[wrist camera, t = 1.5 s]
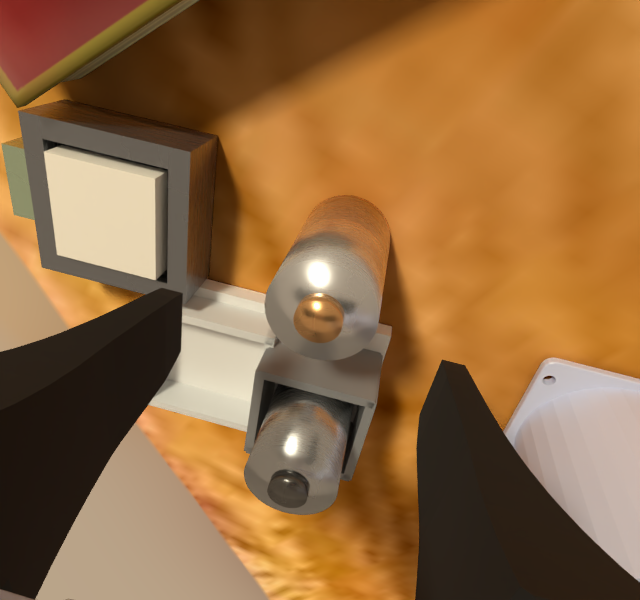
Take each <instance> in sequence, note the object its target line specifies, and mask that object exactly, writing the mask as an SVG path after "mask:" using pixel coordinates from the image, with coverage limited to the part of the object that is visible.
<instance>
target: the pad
mask: <svg viewBox="0 0 640 600" xmlns="http://www.w3.org/2000/svg"><path fill="white" fill-rule="evenodd" d="M44 157H45V165H46V173H47V180H48V188H49V196H50V204H51V211H52V219H53V227H54V234H55V242H56V250H57V255H60V256H63V257H67V258H71V259H75V260H79V261H83V262H87V263H91V264H94V265H98V266H102V267H106V268H110V269H114V270H118V271H122V272H125V273H129V274H133V275H137V276H141V277H145V278H149V279H152V280H156V279H158V278H159V277H160V276H161V275H162V274H163V273H164V272H165V271H166V270H167V212H168V171H166V170H162V169H158V168H154V167H150V166H146V165H142V164H138V163H133V162H129V161H125V160H121V159H117V158H113V157H109V156H105V155H100V154H96V153H92V152H88V151H84V150H80V149H76V148H72V147H67V146H63V145H60V146H58V147H55V148H52V149H50V150H47V151H44Z"/></svg>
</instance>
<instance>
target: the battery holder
mask: <svg viewBox="0 0 640 600" xmlns="http://www.w3.org/2000/svg"><path fill="white" fill-rule="evenodd" d="M265 297H266V294H263V293H260V292H256V291H252V290H248V289H244V288H240V287H236V286H232V285H228V284H224V283H221V282H217V281H213V280H209V279H206V280H205V281H204V283H203V284H202V285H201V286H200V287H199V289H198V290H197V291H196V292H195V294H194V295H193V296H192V297H191V298H190V300H189V301H188V302H187V303H186V305H184V304H182V337H181V352H180V354H179V356H178V358H177V360H176V362H175V364H174V366H173V368H172V369H171V371H170V373H169V375H168V377H167V379H166V380H165V382H164V383H163V385H162V386H161V388H160V389H159V390H158V392H157V393H156V394H155V396H154V397H153V399H152V400H151V401H150V403H149V404H148V405H151V406H155V407H158V408H162V409H166V410H169V411H173V412H176V413H180V414H184V415H187V416H191V417H195V418H198V419H202V420H205V421H209V422H213V423H216V424H220V425H224V426H227V427H231V428H234V429H238V430H242V431H245V432H247V434H246V441H245V448H244V451H246V453H249V454H250V453H251V451H252V448H253V446H254V443H255V441H256V438H257V436H258V433H259V431H260V428H261V426H262V423H263V420H264V418H265V415H266V413H267V410H268V408H269V405H270V403H271V400H272V398H273V395H274V393H275V390H276V388H277V385H278V384H282V385H286V386H289V387H293V388H297V389H301V390H304V391H308V392H312V393H315V394H319V395H323V396H327V397H330V398H334V399H338V400H342V401H345V402H349V403H353V404H354V405H353V411H352V416H351V422H350V427H349V433H348V438H347V444H346V449H345V455H344V460H343V466H342V471H341V477H340V479H342V480H345V481H349V480H352V477H353V474H354V471H355V468H356V465H357V462H358V459H359V456H360V453H361V450H362V447H363V444H364V441H365V438H366V435H367V432H368V429H369V426H370V423H371V420H372V417H373V414H374V411H375V408H376V405H377V399H378V390H379V382H380V374H381V367H382V364H383V360H384V357H385V354H386V351H387V348H388V345H389V342H390V339H391V334H392V326H388V325H384V324H381V323H378V327H377V330H376V333H375V335H374V337H373V338H372V340H371V341H370V343H369V344H368V345H367V346H366V347H365V348H364V349H362V350H361V351H360V352H358V353H356V354H354V355H352V356H350V357H347V358H344V359H339V360H317V359H312V358H309V357H305V356H303V355H301V354H298V353H296V352H295V351H293V350H291V349H290V348H288V347H287V346H286V345H284V344H283V343H282V342H281V341H280V340H279V339H278V338H277V337H276V335H275V334H274V333H273V331H272V330H271V328H270V326H269V324H268V321H267V318H266V314H265Z"/></svg>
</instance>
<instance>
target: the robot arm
mask: <svg viewBox="0 0 640 600" xmlns="http://www.w3.org/2000/svg"><path fill="white" fill-rule="evenodd" d="M182 302H183V293H181V292H177V291H173V290H169V289H165V288H160V289H157V290H155V291H153V292H151V293H148V294H146V295H144V296H142V297H140V298H138V299H136V300H134V301H132V302H130V303H128V304H126V305H123V306H121V307H119V308H117V309H115V310H113V311H111V312H108V313H106V314H104V315H102V316H100V317H98V318H95V319H93V320H91V321H88V322H86V323H83V324H81V325H79V326H76V327H74V328H71V329H69V330H67V331H64V332H62V333H59V334H57V335H54V336H51V337H48V338H45V339H42V340H39V341H36V342H33V343H30V344H27V345H24V346H21V347H17V348H14V349H10V350H6V351H3V352H0V600H35V598H36V596H37V594H38V592H39V590H40V588H41V586H42V584H43V581H44V580H45V578H46V575H47V573H48V571H49V569H50V567H51V565H52V563H53V561H54V559H55V557H56V556H57V553H58V552H59V549H60V548H61V546H62V544H63V542H64V540H65V538H66V536H67V534H68V532H69V530H70V529H71V527H72V525H73V523H74V521H75V519H76V517H77V515H78V514H79V512H80V510H81V508H82V506H83V505H84V503H85V501H86V499H87V497H88V496H89V494H90V492H91V490H92V488H93V487H94V485H95V483H96V481H97V480H98V478H99V476H100V474H101V473H102V471H103V469H104V467H105V466H106V464H107V462H108V461H109V459H110V457H111V456H112V454H113V453H114V451H115V450H116V448H117V447H118V445H119V444H120V442H121V441H122V440H123V438H124V437H125V436H126V434H127V433H128V431H129V430H130V429H131V427H132V426H133V425H134V423H135V422H136V421H137V419H138V418H139V416H140V415H141V414H142V412H143V411H144V410H145V408H146V407H147V406H148V404H149V403H150V401H151V400H152V399H153V397H154V396H155V394H156V393H157V392H158V390H159V389H160V388H161V386H162V385H163V383H164V382H165V380H166V379H167V377H168V375H169V373H170V371H171V369H172V368H173V366H174V364H175V362H176V360H177V358H178V356H179V354H180V352H181V337H182ZM546 376H553V377H552V378H550V379H543V378H544V377H546ZM417 478H418V504H419V555H418V571H417V585H416V598H415V600H640V379H638V378H634V377H630V376H626V375H622V374H618V373H614V372H610V371H606V370H602V369H598V368H594V367H591V366H587V365H583V364H579V363H575V362H571V361H567V360H563V359H559V358H548V359H546V360H544V361H543V362H542V363H541V364H540V366H539V368H538V370H537V372H536V373H535V375H534V377H533V379H532V381H531V382H530V384H529V386H528V388H527V390H526V391H525V393H524V395H523V397H522V399H521V400H520V402H519V404H518V406H517V408H516V409H515V411H514V413H513V415H512V417H511V418H510V420H509V422H508V424H507V426H506V427H505V429H504V431H502V429H501V428H500V426H499V424H498V423H497V421H496V420H495V418H494V416H493V415H492V413H491V411H490V410H489V408H488V406H487V404H486V403H485V401H484V399H483V397H482V395H481V394H480V392H479V390H478V388H477V386H476V384H475V383H474V381H473V379H472V377H471V375H470V374H469V372H468V370H467V368H466V366H465V365H461V364H457V363H453V362H449V361H445V360H442V361H441V364H440V366H439V369H438V371H437V373H436V376H435V378H434V381H433V383H432V386H431V388H430V391H429V393H428V395H427V398H426V400H425V403H424V405H423V408H422V410H421V413H420V417H419V427H418V437H417ZM67 600H72V599H67Z"/></svg>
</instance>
